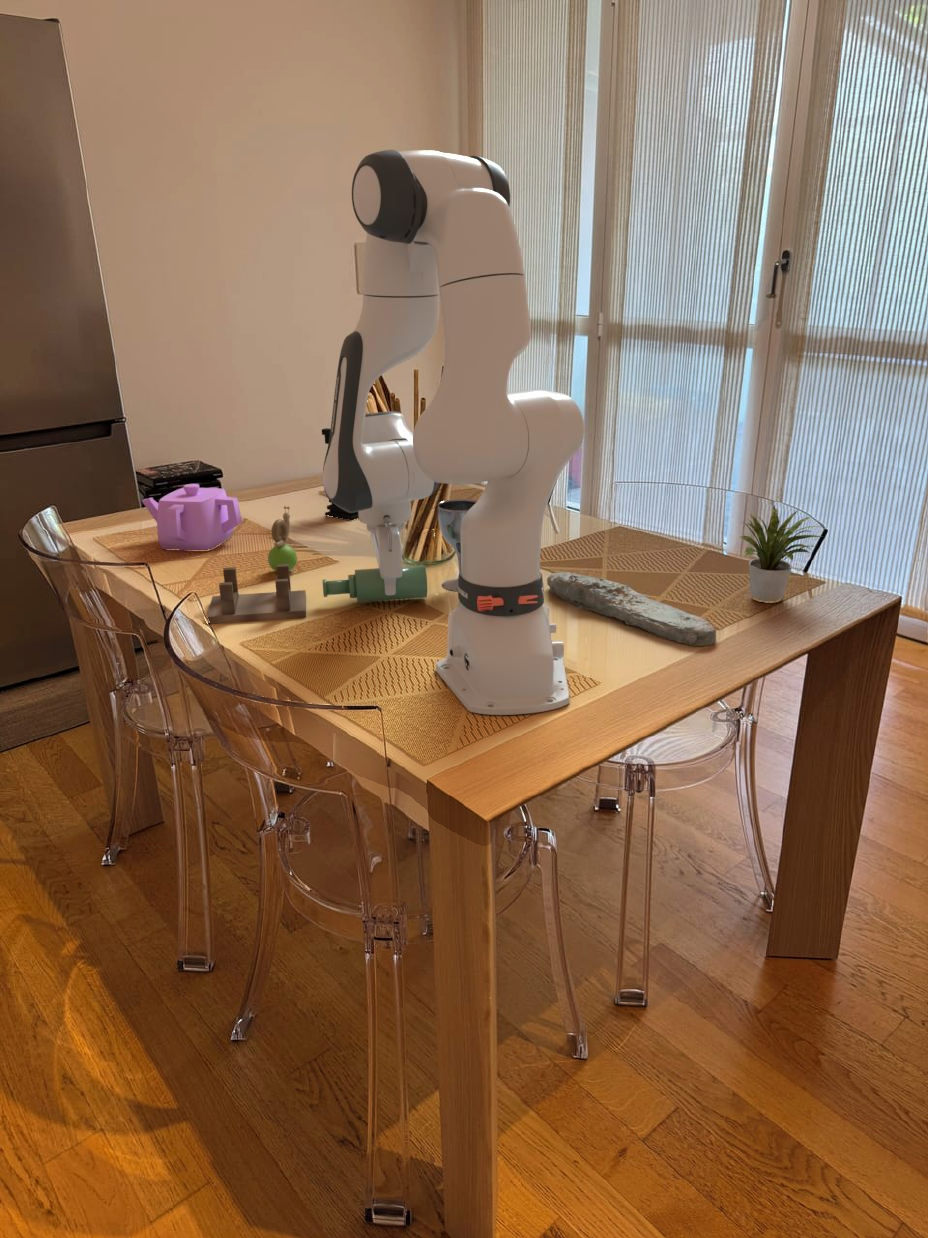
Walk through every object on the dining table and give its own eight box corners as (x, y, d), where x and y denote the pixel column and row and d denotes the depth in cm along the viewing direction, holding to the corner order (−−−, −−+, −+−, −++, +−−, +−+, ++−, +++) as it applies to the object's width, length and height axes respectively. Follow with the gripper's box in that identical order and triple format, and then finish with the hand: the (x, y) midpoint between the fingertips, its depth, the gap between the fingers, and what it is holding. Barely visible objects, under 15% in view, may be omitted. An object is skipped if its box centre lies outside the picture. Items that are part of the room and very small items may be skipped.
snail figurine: (305, 567, 176) (300, 506, 171) (290, 577, 170) (285, 515, 165) (279, 564, 177) (274, 505, 172) (264, 575, 171) (258, 513, 167)
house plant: (769, 622, 147) (781, 524, 141) (704, 597, 158) (713, 506, 152) (824, 604, 154) (838, 510, 148) (759, 581, 165) (769, 494, 159)
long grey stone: (688, 664, 136) (728, 650, 142) (694, 632, 134) (734, 619, 140) (530, 591, 161) (570, 581, 167) (533, 562, 159) (573, 554, 165)
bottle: (425, 601, 159) (422, 572, 161) (428, 590, 154) (424, 560, 155) (324, 609, 156) (322, 579, 158) (323, 598, 151) (321, 566, 153)
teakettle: (173, 559, 181) (165, 499, 177) (145, 540, 194) (136, 483, 189) (252, 543, 191) (246, 486, 186) (220, 526, 203) (214, 472, 199)
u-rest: (306, 596, 160) (303, 562, 158) (306, 617, 151) (303, 581, 149) (213, 602, 158) (209, 567, 155) (207, 623, 149) (202, 587, 146)
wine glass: (478, 593, 161) (478, 511, 155) (435, 590, 162) (433, 509, 157) (486, 578, 168) (486, 499, 162) (444, 576, 169) (443, 498, 164)
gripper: (409, 524, 142) (413, 606, 147) (398, 494, 161) (401, 568, 166) (369, 526, 141) (374, 609, 146) (362, 496, 160) (367, 570, 165)
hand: (388, 587), depth 156 cm, fingers closed on bottle, 6 cm apart
